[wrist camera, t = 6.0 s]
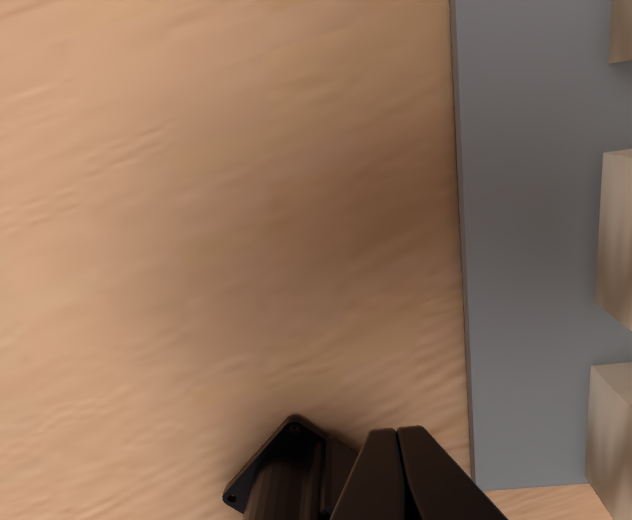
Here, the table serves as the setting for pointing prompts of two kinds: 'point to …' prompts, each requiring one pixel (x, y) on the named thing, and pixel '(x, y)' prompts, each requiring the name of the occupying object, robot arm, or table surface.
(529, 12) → the grey mat
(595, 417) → the one-pip block
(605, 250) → the plain block
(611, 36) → the two-pip block
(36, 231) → the table surface
